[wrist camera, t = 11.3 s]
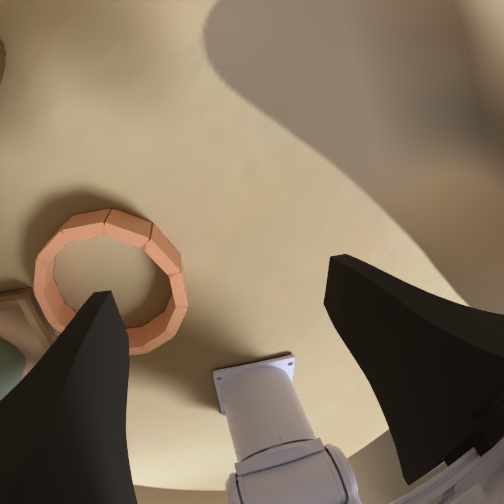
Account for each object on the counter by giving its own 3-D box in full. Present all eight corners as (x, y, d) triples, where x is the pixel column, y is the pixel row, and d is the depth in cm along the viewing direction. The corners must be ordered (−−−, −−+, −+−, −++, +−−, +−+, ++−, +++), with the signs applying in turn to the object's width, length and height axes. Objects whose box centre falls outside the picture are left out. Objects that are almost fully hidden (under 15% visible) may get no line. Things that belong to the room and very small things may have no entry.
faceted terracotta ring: (194, 327, 22) (197, 346, 21) (75, 340, 20) (70, 359, 18) (171, 198, 17) (171, 210, 15) (26, 226, 15) (12, 240, 13)
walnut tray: (90, 389, 24) (89, 401, 22) (3, 387, 21) (0, 397, 20) (31, 287, 17) (24, 299, 16) (-56, 299, 15) (-63, 308, 13)
